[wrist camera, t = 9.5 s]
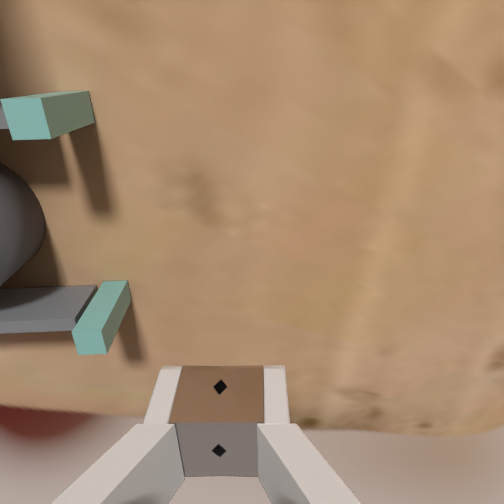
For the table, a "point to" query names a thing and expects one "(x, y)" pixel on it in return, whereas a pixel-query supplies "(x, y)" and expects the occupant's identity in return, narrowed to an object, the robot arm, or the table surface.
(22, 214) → the dark grey rounded dome
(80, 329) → the cable holder
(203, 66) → the table surface
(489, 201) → the table surface
